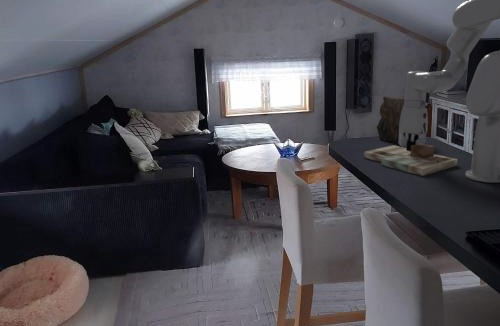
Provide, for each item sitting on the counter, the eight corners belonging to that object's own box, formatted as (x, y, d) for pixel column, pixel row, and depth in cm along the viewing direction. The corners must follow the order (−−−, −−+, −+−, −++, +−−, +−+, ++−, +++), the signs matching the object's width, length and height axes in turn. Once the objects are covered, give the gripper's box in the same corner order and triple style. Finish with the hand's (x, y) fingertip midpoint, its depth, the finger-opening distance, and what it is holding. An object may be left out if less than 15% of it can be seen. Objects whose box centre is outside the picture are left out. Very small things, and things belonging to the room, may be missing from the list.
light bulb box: (421, 144, 198) (423, 120, 196) (425, 147, 192) (427, 123, 189) (397, 144, 200) (398, 120, 197) (400, 147, 193) (402, 123, 190)
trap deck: (456, 165, 164) (457, 159, 164) (422, 175, 153) (423, 169, 152) (392, 150, 187) (393, 145, 187) (358, 158, 176) (359, 152, 175)
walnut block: (433, 156, 168) (434, 146, 167) (424, 158, 165) (424, 148, 164) (419, 153, 173) (420, 143, 172) (410, 155, 170) (411, 145, 169)
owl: (374, 138, 212) (377, 96, 207) (393, 135, 218) (396, 94, 213) (395, 143, 202) (398, 99, 196) (414, 139, 207) (417, 97, 202)
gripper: (438, 105, 164) (433, 152, 169) (404, 101, 176) (400, 145, 181) (426, 107, 160) (421, 155, 165) (392, 102, 172) (388, 148, 177)
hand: (410, 150), depth 173 cm, fingers closed
